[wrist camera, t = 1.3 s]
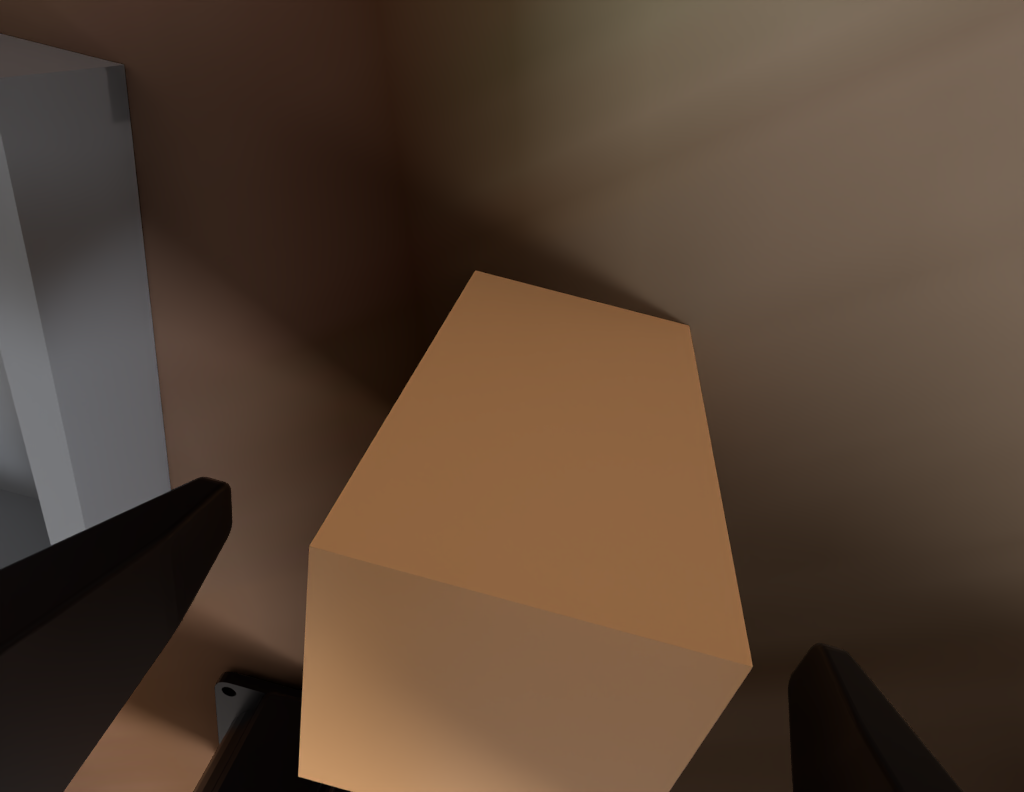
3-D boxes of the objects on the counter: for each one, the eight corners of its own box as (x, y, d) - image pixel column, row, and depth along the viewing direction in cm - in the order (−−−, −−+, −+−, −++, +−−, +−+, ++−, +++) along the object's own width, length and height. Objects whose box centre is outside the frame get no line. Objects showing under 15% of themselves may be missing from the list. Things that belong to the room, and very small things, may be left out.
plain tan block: (623, 490, 15) (618, 867, 9) (443, 442, 16) (297, 776, 9) (689, 325, 13) (752, 666, 6) (475, 270, 13) (309, 546, 6)
